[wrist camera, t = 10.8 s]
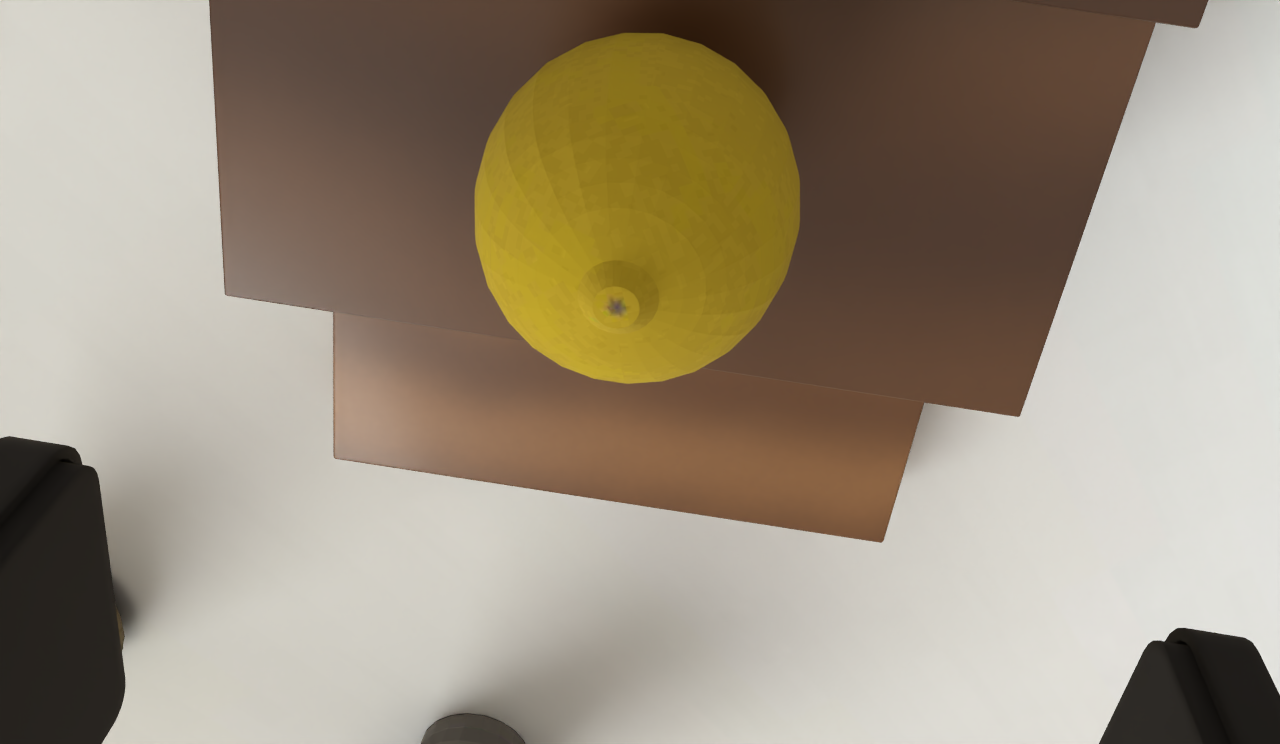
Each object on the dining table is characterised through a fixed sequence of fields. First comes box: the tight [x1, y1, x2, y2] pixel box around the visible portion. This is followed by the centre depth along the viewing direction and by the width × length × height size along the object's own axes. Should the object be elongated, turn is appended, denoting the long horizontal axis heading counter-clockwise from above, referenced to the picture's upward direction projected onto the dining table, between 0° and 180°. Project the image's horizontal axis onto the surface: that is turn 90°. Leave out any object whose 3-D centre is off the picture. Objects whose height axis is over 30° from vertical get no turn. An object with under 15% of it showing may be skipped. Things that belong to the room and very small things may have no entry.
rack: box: [209, 0, 1208, 543], centre depth 31 cm, size 20×18×13 cm
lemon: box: [475, 33, 800, 384], centre depth 21 cm, size 6×6×8 cm
